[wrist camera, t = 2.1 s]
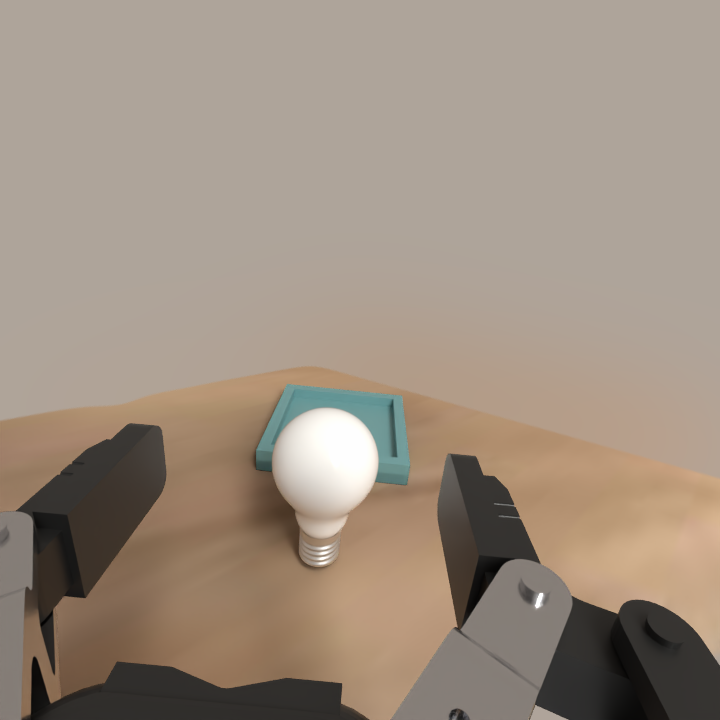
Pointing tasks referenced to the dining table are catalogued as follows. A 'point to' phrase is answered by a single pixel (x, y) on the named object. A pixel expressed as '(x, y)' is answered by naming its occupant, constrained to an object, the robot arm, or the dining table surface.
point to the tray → (370, 408)
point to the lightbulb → (324, 476)
